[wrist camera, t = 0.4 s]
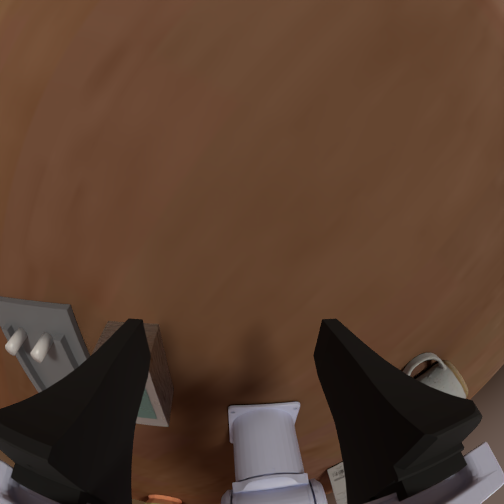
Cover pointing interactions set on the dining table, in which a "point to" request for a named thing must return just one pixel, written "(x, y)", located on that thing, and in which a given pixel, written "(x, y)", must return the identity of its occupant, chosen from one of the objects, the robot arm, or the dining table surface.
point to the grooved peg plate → (42, 339)
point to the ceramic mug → (439, 375)
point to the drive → (150, 377)
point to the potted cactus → (162, 500)
